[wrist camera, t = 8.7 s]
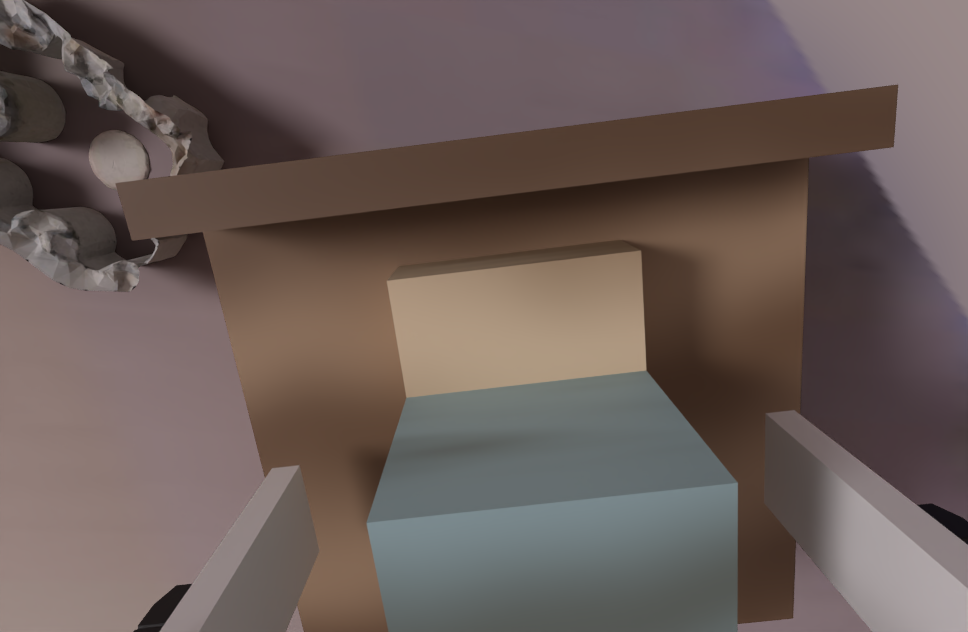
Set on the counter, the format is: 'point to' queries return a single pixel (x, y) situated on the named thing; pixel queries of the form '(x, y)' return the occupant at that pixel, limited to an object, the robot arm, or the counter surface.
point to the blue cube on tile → (545, 458)
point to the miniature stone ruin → (113, 155)
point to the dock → (505, 229)
